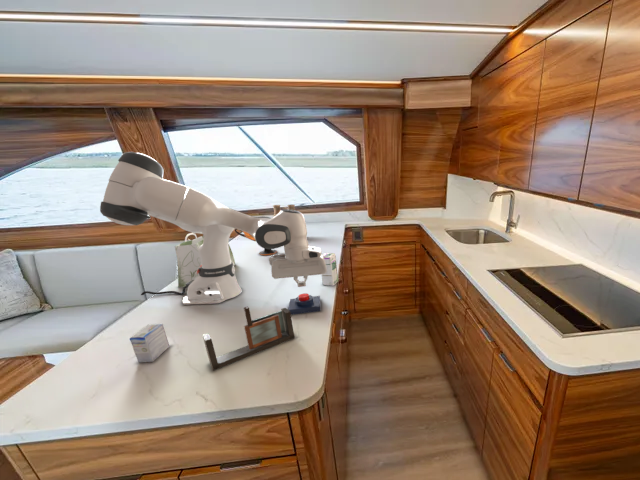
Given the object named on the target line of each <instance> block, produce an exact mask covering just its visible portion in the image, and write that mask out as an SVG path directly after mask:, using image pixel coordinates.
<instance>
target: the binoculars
mask: <svg viewBox="0 0 640 480" xmlns="http://www.w3.org/2000/svg"><path fill="white" fill-rule="evenodd" d="M272 207H273V211H274V214H273V215H272V216H273V217H274V216H276V215H277V214H279V213H280V212H281V210H286V209H289V210H296V207H295V204H287V206H286V207H281V204H273V205H272Z"/></svg>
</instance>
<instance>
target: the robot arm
mask: <svg viewBox="0 0 640 480" xmlns="http://www.w3.org/2000/svg"><path fill="white" fill-rule="evenodd" d="M117 161H118V162H117V164H116V166H115V167H114V169H113V170H112V172H111V174H110V176H109V178H108V183H107V186H106V188H105V191H104V194H103V200H102V201H100V206H99V212H100V214H101V215H102V216H103V217H106V219H108V220H110V221H111V222H113V223H115V224H118V225H122V226H139V225H141V224H143V223H144V222H146V221H147V220H150V219H151V218H152V217H153V218H156V219H159V220H162V221H165V222H167V223H170V224H173V225H175V226H177V227H179V228H180V229H182V230H184V231H186V232H189V233H195V234H202V236H204V240H203V244H202V245H201V246H200V247H199V249H198V253H199V256H200V260H201V264H202V265H201V266H200V268H199V269H198V270H197V271H198V272H197V274H198V273H199V276H198V277H197V278H196V279H195V280H192V281H190V282H188V283H186V286H185V287H182V292H179V291H175V290H165V291H157V292H156V291H155V292H154V291H151V290H150V291H149V290H145V291H142V292H141V294H140V296H144V295H145V294H149V295H164V294H176V295H180V296H183V295H185V293H186V295H185V296H184V297H183V298H182V300H181V301H182V305H211V304H220V303H223V302H225V301H227V300H231V299H233V298H236V297H237V296H239V295H241V293H242V292H243V290H242V288H241V286H240V284H239V282H238V280H237V276H236V270H235V265H234V266H233V262H231V258H230V252H229V246H230V237H231V234H232V233H233V232H235V229H238V230H237V231H240V230H241V231H240V232H242V231H244V232H247V233H249V234H250V235H252V236H253V237H254V238H255V240H256V241H255V242H256V244H257V245H258V246H259V247H260V248H262V249H264V248H265V249H271V250H276V249H279V248H282V247H283V251H284V253H278V254H277V253H274V254H271V255H270V256H269V258H268V262H269V263H268V264H269V265H270V266H271V267H270V268H271V269H270V270H271V277H272V278H273V279H274V280H277V279H278V280H279V279H288V278H293V281H294V282H295V283H296V284H297V288H302V287H306V286H307V284H306V282H307V280H308V277H309V276H318V275H322V274H325V273H326V272H327V269H326V263H325V259H324V257H323V256H322V255H323V254H322V249H321V247H316V246H313V245H309V241H308V238H307V236H308V228H307V222H306V219H305V216H304V214H303V213H302V212H301V211H299V210H297V209H295V210H289V209H286V208H285V210H284V209H280V210H281V212H280V213H279V214H277V215H276V216H273V217H269V216H264V215H263V216H254V215H250V214H247V213H244V212H242V211H239V210H236V209H233V208H230V207H228V206H226V205H224V204H222V203H220V202H219V201H217V200H215V199H214V198H212V197H211V196H209V195H207V194H205V193H204V192H201V191H199V190H197V189H194V188H191V187H189V186H186V185H184V184H181V183H178V182H175V181H172V180H167V179H164V167H163V166H162V164H161V163H159V161H157V160H155V159H154V158H152V157H151V156H149V155H147V154H144V153H140V152H134V151H126V152H124V153H123V154H121V156H120V157H119V158H118V160H117ZM299 277H303V280H299V279H298V278H299Z"/></svg>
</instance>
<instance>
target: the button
mask: <svg viewBox="0 0 640 480" xmlns="http://www.w3.org/2000/svg"><path fill="white" fill-rule="evenodd" d="M309 295H310V294H309V293H307V292H305V293H300V294H299V295H298V296H297V297H299V301H306V300H309Z"/></svg>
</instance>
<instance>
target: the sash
mask: <svg viewBox="0 0 640 480" xmlns="http://www.w3.org/2000/svg"><path fill="white" fill-rule="evenodd" d="M243 311H244V318H245V320H246V325H244V326H243V328H244V333H245V337H246V341H247V345H248V346H249V349H253V348H255V347H258V346H260V345H263V344H266V343H268V342H271V341H273V340H276V339H278V338H281V337H282V334H281V328H280V322H279V316H278V315H275V316H272V317H269V318H266V319H263V320H260V321H257V322H254V323H252V320H253V319H252V315H251V311H250V307H249V306H245V307H243Z"/></svg>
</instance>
